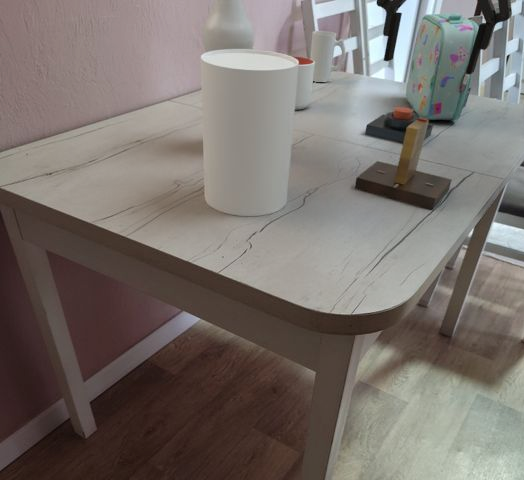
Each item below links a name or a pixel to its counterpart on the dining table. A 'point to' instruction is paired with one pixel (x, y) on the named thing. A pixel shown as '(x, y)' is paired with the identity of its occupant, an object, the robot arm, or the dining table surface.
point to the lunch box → (441, 66)
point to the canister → (247, 129)
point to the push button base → (392, 128)
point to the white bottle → (227, 27)
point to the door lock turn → (411, 150)
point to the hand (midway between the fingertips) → (427, 66)
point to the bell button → (402, 113)
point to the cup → (304, 82)
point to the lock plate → (413, 191)
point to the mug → (325, 54)
